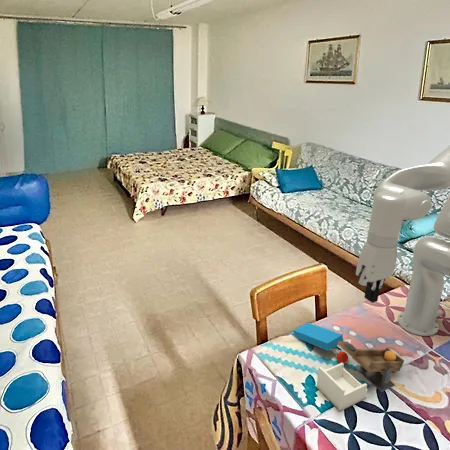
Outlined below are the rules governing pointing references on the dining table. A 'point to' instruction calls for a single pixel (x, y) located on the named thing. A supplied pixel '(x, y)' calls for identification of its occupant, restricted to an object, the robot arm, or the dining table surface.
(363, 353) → the brown shallow tray
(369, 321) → the dining table surface
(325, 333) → the lever
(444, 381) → the dining table surface
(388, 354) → the ball
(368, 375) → the stand
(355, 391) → the box
